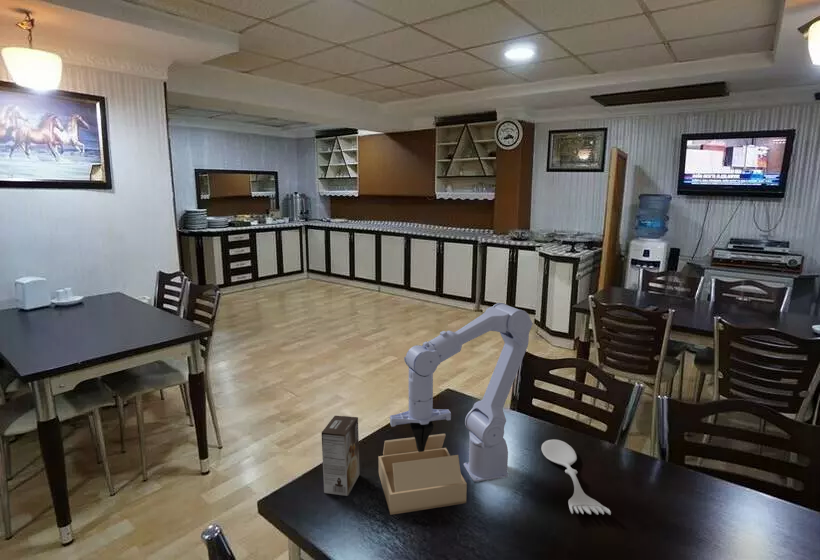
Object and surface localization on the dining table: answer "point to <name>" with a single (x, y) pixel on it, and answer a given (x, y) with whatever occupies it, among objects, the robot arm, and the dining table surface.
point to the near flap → (426, 473)
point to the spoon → (566, 457)
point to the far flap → (412, 444)
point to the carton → (422, 496)
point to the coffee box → (340, 455)
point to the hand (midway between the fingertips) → (420, 449)
